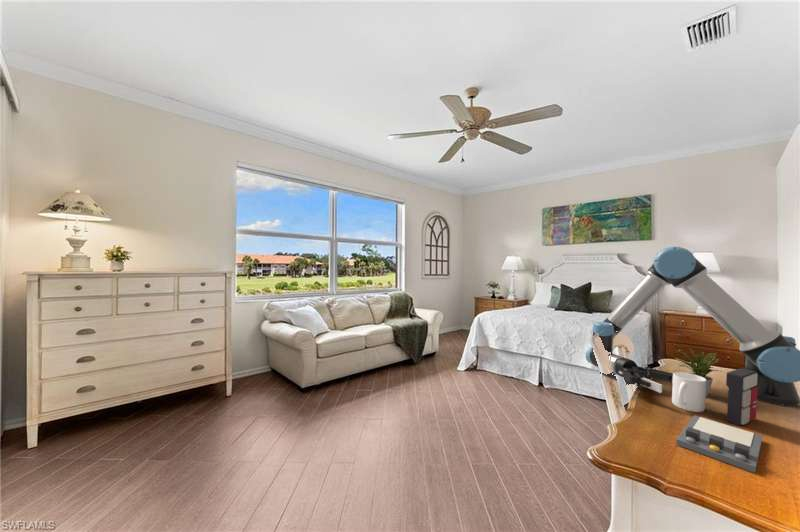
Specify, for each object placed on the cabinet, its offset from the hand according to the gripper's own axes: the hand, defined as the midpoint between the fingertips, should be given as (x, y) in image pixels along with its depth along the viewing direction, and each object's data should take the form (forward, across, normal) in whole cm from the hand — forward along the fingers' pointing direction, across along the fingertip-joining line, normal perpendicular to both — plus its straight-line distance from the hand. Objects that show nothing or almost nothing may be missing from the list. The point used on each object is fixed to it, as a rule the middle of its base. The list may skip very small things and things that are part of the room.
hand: (677, 387), depth 109 cm
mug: (+2, 0, -6) cm, 7 cm away
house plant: (-7, -20, -6) cm, 23 cm away
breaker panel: (+21, +13, -6) cm, 25 cm away
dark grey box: (+12, -9, -6) cm, 16 cm away
